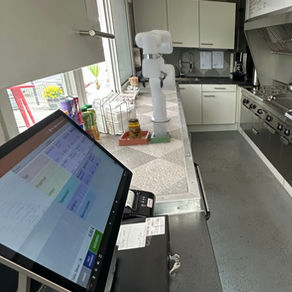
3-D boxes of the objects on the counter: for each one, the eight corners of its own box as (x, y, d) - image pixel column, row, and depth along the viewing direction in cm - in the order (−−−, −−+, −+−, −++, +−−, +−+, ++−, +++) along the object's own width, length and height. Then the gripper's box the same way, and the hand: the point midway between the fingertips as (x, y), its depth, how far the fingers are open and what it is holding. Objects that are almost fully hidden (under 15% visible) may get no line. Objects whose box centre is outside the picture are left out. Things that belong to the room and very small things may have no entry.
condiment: (137, 142, 133) (134, 121, 128) (124, 140, 135) (121, 120, 130) (145, 138, 139) (142, 118, 134) (133, 136, 141) (130, 116, 137)
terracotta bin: (126, 136, 143) (125, 130, 142) (150, 135, 146) (150, 130, 145) (119, 145, 128) (118, 139, 127) (146, 144, 131) (146, 138, 130)
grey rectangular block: (167, 139, 138) (166, 123, 135) (155, 140, 136) (153, 124, 132) (166, 137, 142) (165, 121, 138) (154, 138, 139) (152, 122, 135)
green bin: (153, 137, 143) (153, 131, 142) (169, 137, 145) (169, 131, 144) (151, 143, 133) (151, 137, 132) (168, 143, 135) (168, 137, 133)
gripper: (166, 57, 141) (168, 87, 147) (136, 56, 138) (139, 86, 144) (165, 58, 134) (167, 88, 140) (133, 56, 131) (136, 88, 137)
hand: (153, 87), depth 142 cm, fingers open, 9 cm apart
